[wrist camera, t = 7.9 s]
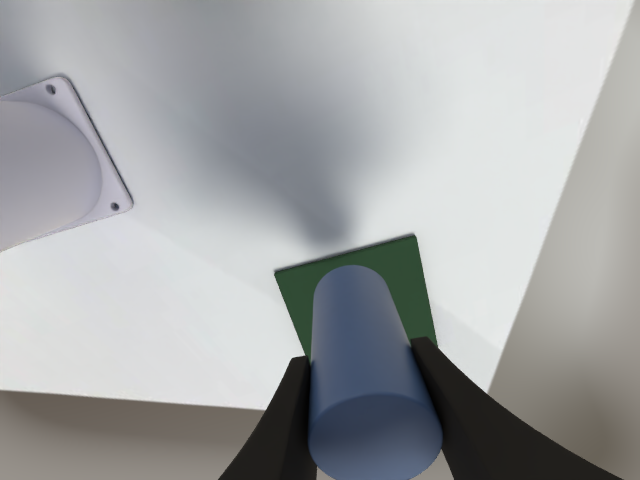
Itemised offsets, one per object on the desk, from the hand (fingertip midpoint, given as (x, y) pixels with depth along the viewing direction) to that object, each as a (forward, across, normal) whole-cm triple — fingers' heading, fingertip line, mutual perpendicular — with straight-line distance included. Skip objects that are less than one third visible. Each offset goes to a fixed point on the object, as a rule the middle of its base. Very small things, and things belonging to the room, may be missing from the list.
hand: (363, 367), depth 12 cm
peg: (+5, 0, 0) cm, 5 cm away
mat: (+10, 0, +5) cm, 12 cm away
